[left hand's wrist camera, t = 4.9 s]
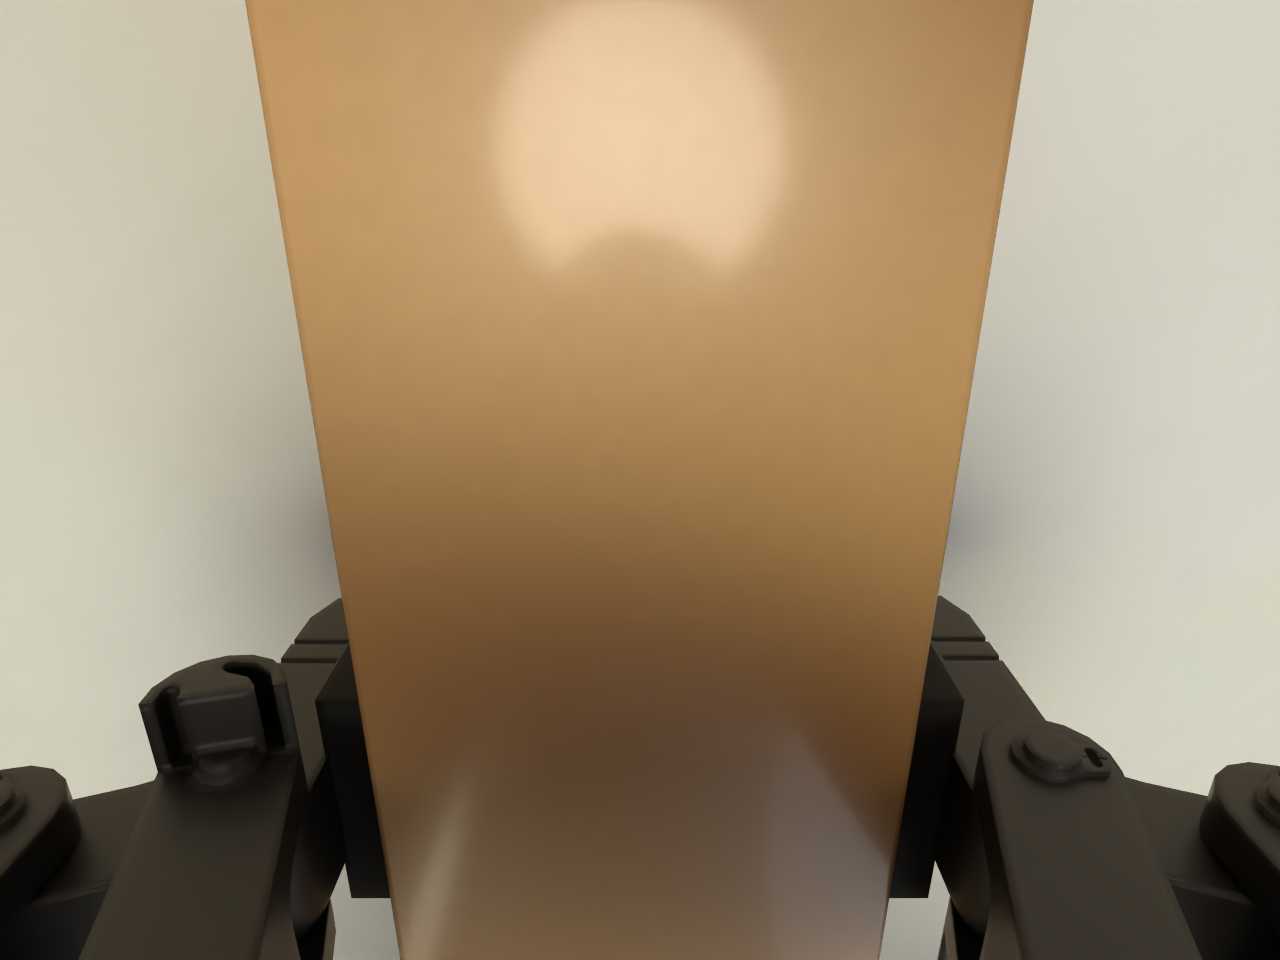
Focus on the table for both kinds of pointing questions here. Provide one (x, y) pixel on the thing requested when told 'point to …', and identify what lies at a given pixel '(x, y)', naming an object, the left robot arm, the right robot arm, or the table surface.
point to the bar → (639, 440)
